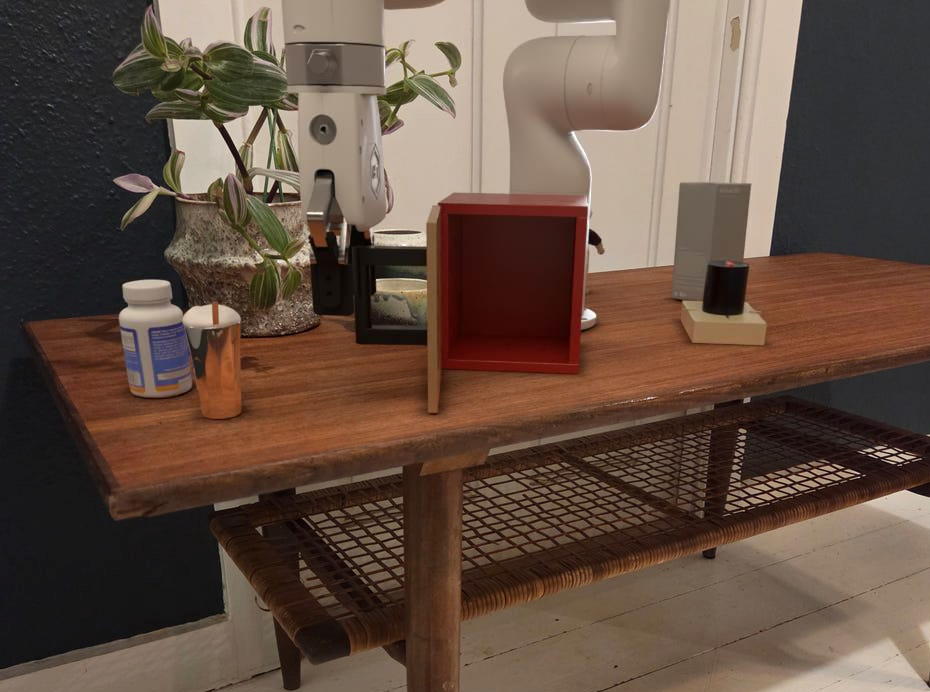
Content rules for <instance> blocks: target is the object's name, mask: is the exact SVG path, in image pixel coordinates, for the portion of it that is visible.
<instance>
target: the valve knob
mask: <svg viewBox="0 0 930 692" xmlns="http://www.w3.org/2000/svg"><path fill="white" fill-rule="evenodd" d="M749 271H750V264H749V263H747V262H744V261H743V262H737V261H710V262H707V266H706V275H705V284H704V293H703V302H702V311H704V312H707V313H711V314H717V315H738V314H742V313H743V311H744V303H746V302H745V301H746V296H747V295H746V294H747V287H748V279H749Z"/></svg>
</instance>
